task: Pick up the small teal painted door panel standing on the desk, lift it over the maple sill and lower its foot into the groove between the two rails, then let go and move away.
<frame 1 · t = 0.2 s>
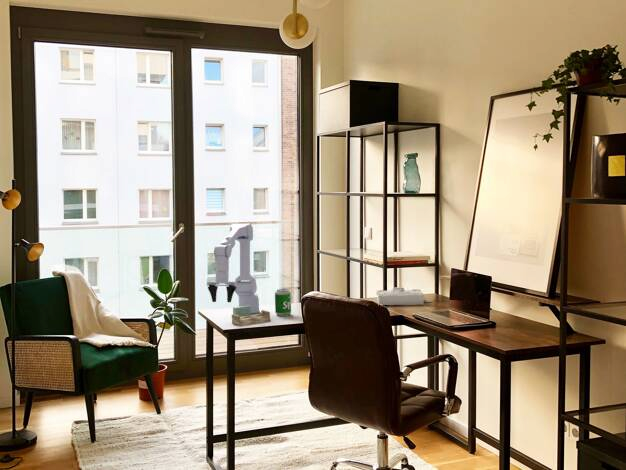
hand: (221, 302, 318), 11 cm above the table, tool pointing down, fingers open, 7 cm apart
soda can: (283, 315, 339), on the table
door panel: (242, 319, 331), on the table
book: (404, 304, 362), on the table
track sill: (251, 322, 324), on the table
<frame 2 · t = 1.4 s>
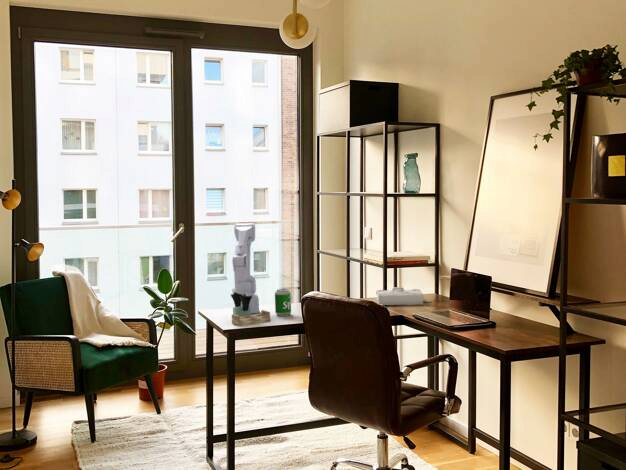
hand: (241, 309, 331), 4 cm above the table, tool pointing down, fingers open, 7 cm apart
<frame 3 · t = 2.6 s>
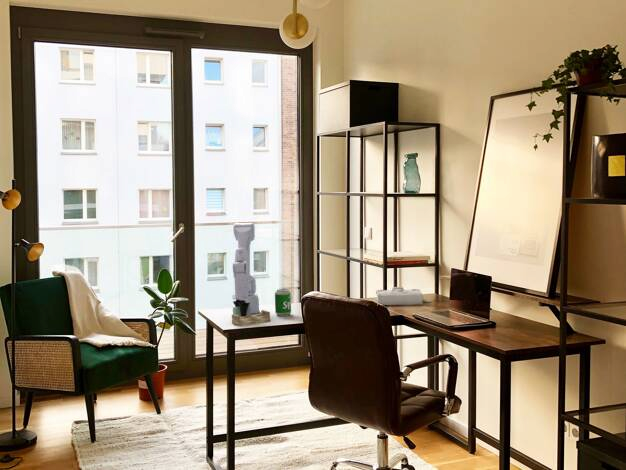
hand: (242, 316, 331), 1 cm above the table, tool pointing down, fingers closed on door panel, 3 cm apart
door panel: (242, 319, 332), on the table, touching gripper
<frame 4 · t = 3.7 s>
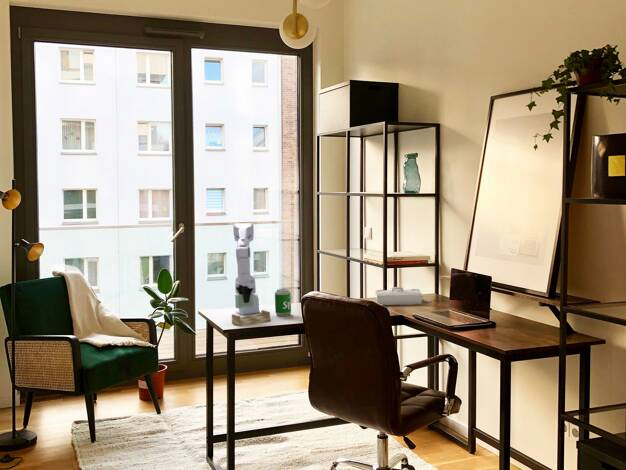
hand: (245, 302, 328), 9 cm above the table, tool pointing down, fingers closed on door panel, 3 cm apart
door panel: (244, 307, 328), point 6 cm above the table, touching gripper
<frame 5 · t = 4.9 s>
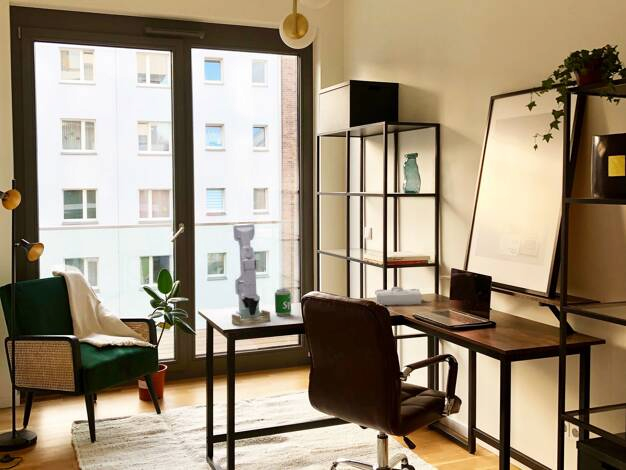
hand: (250, 314, 324), 4 cm above the table, tool pointing down, fingers closed on door panel, 3 cm apart
door panel: (250, 320, 324), point 1 cm above the table, touching gripper
when the fingers open (3 cm above the table, at t = 5.3 s): door panel stays where it is, resting on track sill.
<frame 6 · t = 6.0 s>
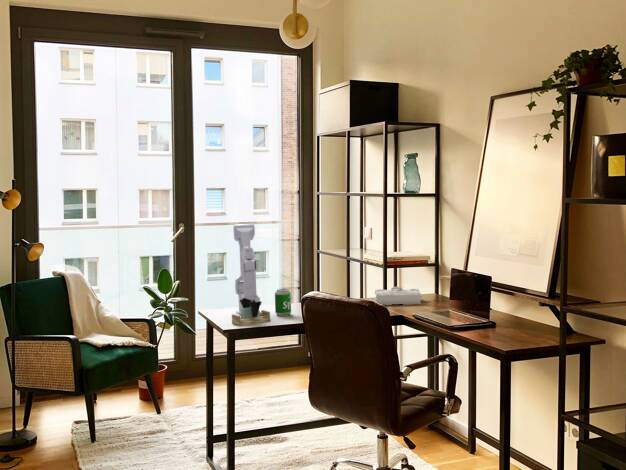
hand: (250, 315, 324), 3 cm above the table, tool pointing down, fingers open, 7 cm apart
door panel: (250, 320, 324), point 1 cm above the table, touching track sill
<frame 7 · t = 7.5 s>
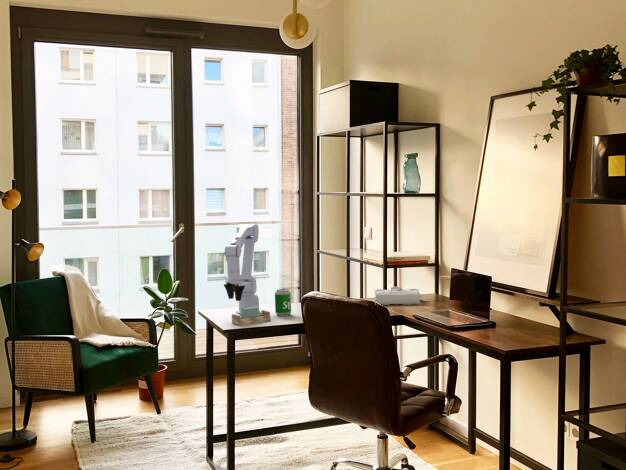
hand: (234, 299, 330), 9 cm above the table, tool pointing down, fingers open, 7 cm apart
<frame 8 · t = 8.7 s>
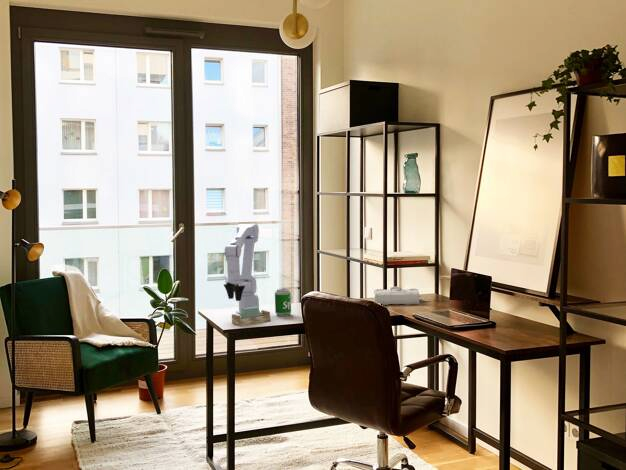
hand: (234, 299, 330), 9 cm above the table, tool pointing down, fingers open, 7 cm apart
at the end: door panel 0.4 cm off-centre on the track sill, point 0.6 cm above the track sill's base; door panel tilted 0°; the gripper is holding nothing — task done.
